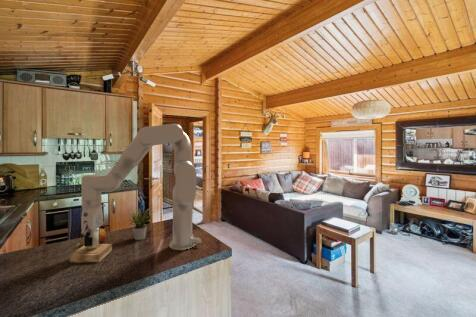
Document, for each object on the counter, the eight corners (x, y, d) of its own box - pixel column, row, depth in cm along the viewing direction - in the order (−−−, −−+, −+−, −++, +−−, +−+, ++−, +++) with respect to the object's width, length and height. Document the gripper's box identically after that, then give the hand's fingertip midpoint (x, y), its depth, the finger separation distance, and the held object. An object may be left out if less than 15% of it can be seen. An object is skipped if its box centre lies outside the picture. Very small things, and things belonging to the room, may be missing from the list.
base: (111, 250, 116) (111, 243, 116) (99, 262, 104) (99, 254, 104) (85, 250, 115) (85, 243, 115) (69, 262, 103) (69, 254, 103)
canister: (101, 243, 113) (101, 226, 112) (95, 248, 107) (95, 230, 107) (88, 243, 112) (88, 226, 112) (81, 248, 107) (81, 230, 106)
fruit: (112, 236, 130) (107, 226, 125) (103, 249, 123) (98, 238, 119) (97, 235, 131) (92, 225, 126) (88, 248, 124) (82, 238, 120)
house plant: (158, 233, 140) (158, 204, 140) (153, 242, 127) (153, 210, 126) (132, 233, 138) (132, 204, 138) (124, 243, 125) (124, 211, 124)
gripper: (90, 207, 100) (90, 251, 101) (109, 198, 117) (109, 236, 118) (70, 207, 100) (71, 251, 101) (93, 198, 117) (93, 236, 118)
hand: (92, 243), depth 110 cm, fingers closed on canister, 5 cm apart
